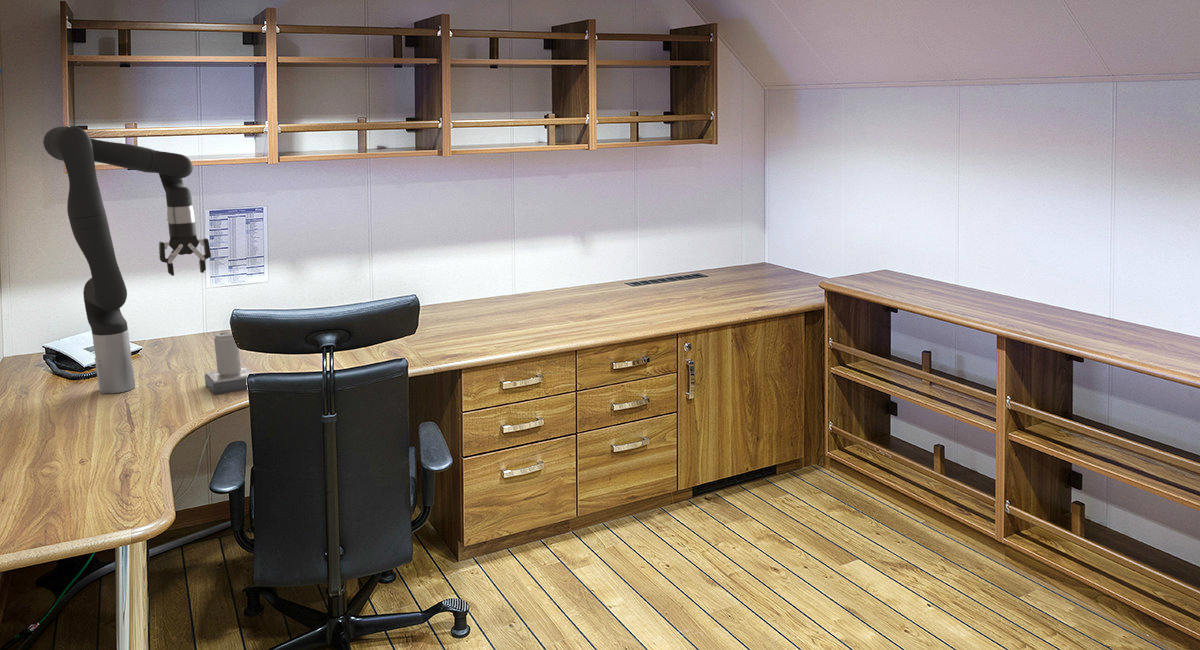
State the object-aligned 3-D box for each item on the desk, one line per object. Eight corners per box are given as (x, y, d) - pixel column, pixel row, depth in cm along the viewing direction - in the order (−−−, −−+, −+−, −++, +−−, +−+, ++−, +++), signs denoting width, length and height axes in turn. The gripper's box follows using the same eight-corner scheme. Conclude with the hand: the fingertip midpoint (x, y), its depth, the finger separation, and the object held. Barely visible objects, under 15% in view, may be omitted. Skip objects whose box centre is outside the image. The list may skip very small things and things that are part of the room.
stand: (214, 395, 269) (212, 381, 269) (205, 385, 279) (204, 372, 278) (257, 388, 276) (256, 374, 275) (247, 378, 286) (246, 365, 285)
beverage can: (233, 369, 281) (229, 329, 278) (245, 372, 277) (241, 332, 274) (213, 374, 276) (209, 334, 273) (225, 377, 272) (221, 337, 270)
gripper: (158, 224, 280) (164, 278, 284) (208, 220, 288) (214, 273, 291) (153, 221, 286) (160, 274, 290) (203, 218, 294) (209, 269, 297)
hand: (187, 273), depth 291 cm, fingers open, 8 cm apart
